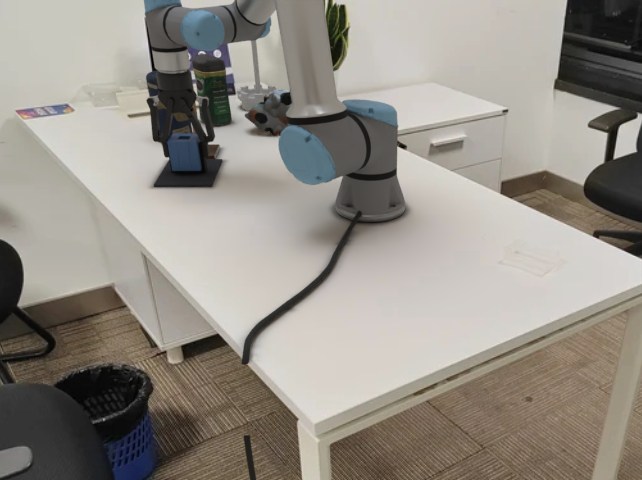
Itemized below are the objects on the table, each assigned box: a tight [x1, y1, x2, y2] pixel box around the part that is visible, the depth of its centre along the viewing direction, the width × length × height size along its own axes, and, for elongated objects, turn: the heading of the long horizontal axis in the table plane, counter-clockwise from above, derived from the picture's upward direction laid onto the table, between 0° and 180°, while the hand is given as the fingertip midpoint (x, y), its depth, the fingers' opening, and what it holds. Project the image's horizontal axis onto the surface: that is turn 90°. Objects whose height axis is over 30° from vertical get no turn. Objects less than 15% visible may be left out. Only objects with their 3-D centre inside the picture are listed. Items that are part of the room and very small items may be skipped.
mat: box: [153, 158, 223, 188], centre depth 167 cm, size 18×13×1 cm
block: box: [167, 134, 202, 171], centre depth 164 cm, size 6×6×7 cm
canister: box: [145, 69, 193, 139], centre depth 185 cm, size 10×10×18 cm
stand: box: [189, 102, 221, 159], centre depth 175 cm, size 9×9×16 cm
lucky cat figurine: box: [244, 88, 292, 136], centre depth 196 cm, size 15×12×14 cm
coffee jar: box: [192, 53, 233, 126], centre depth 198 cm, size 10×8×19 cm
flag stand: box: [236, 40, 280, 112], centre depth 210 cm, size 13×13×30 cm
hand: (189, 169), depth 166 cm, fingers closed on block, 6 cm apart
